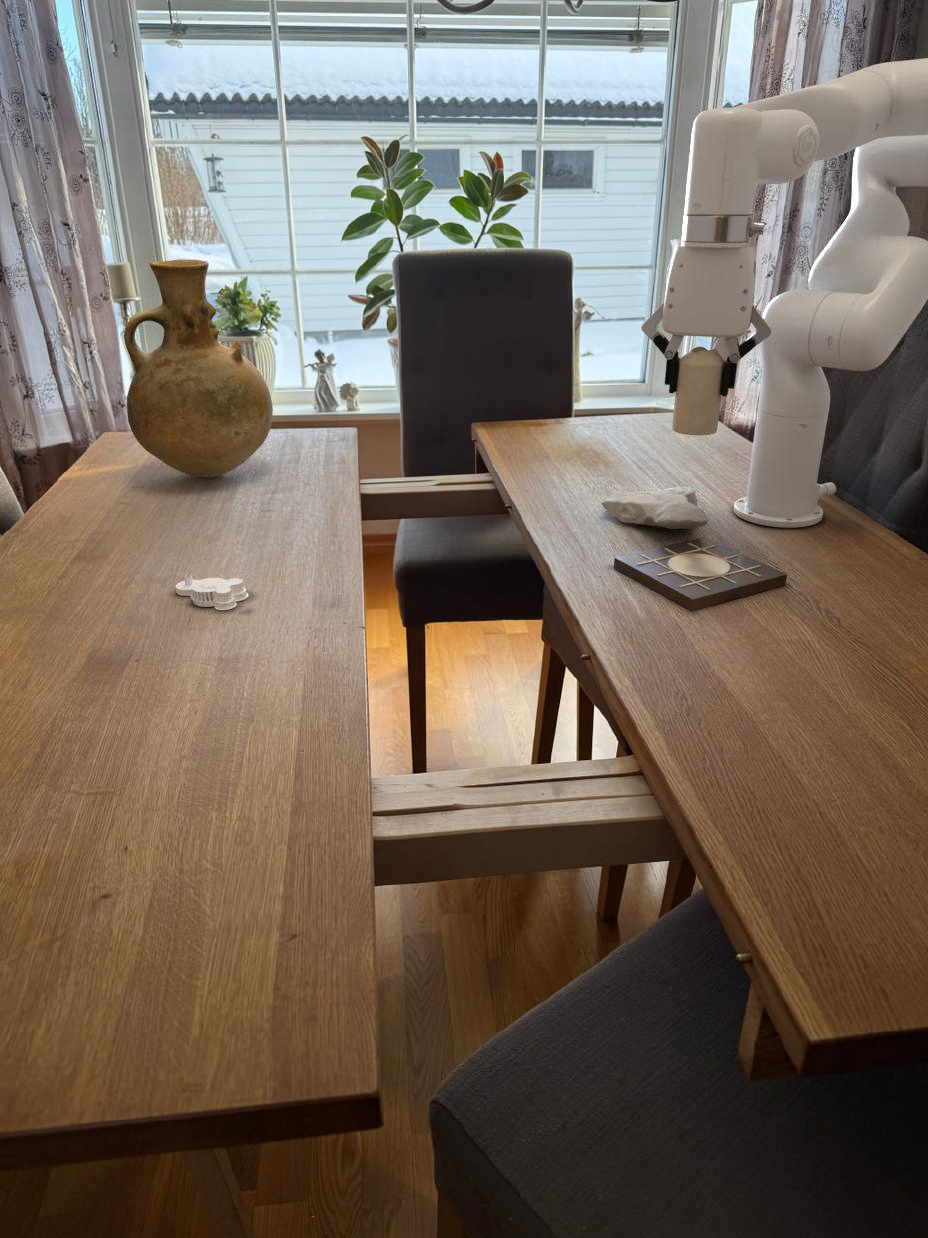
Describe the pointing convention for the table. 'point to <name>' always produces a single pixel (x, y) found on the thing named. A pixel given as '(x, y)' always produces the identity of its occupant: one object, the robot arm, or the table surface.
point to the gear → (213, 591)
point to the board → (699, 572)
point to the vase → (194, 382)
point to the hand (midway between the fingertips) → (698, 391)
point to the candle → (698, 392)
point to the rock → (658, 508)
